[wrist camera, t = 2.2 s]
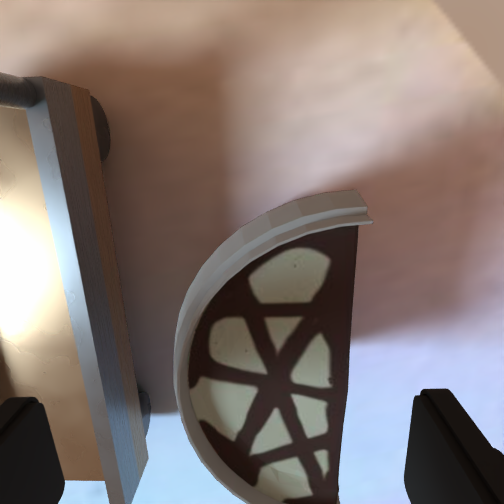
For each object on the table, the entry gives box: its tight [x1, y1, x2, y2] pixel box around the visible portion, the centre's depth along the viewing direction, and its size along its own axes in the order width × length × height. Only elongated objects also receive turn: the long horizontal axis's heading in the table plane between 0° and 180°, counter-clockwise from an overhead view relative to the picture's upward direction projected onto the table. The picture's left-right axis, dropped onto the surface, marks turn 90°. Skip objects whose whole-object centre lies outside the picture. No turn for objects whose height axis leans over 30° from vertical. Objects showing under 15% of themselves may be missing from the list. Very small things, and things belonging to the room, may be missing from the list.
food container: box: [173, 190, 373, 504], centre depth 16 cm, size 12×6×10 cm, turn 1°
